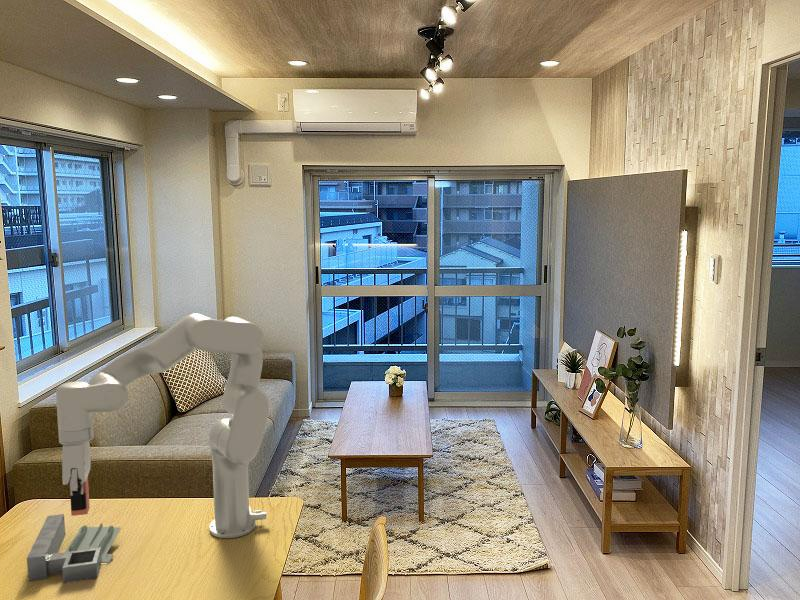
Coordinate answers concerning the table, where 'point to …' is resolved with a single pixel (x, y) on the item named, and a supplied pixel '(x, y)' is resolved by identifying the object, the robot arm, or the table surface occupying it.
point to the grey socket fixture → (60, 555)
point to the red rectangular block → (86, 491)
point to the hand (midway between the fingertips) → (80, 505)
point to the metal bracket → (95, 540)
